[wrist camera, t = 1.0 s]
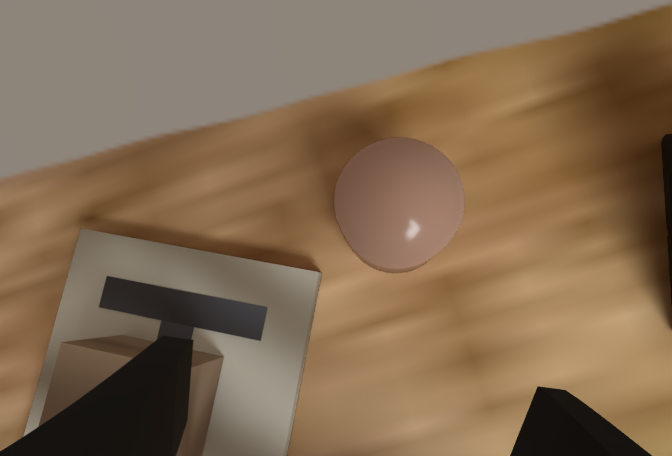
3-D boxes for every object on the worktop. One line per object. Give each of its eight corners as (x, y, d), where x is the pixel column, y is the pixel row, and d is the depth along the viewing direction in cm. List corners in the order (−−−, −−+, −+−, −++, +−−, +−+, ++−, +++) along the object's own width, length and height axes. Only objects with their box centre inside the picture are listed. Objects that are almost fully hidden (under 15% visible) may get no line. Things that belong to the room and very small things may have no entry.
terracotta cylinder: (437, 281, 21) (454, 275, 16) (336, 263, 21) (322, 251, 16) (452, 182, 21) (473, 147, 16) (354, 168, 22) (346, 129, 17)
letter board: (250, 645, 19) (242, 664, 18) (1, 570, 20) (-19, 584, 19) (321, 273, 21) (318, 272, 20) (94, 231, 23) (80, 228, 22)
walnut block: (198, 473, 19) (151, 517, 15) (93, 447, 20) (23, 482, 16) (223, 356, 20) (185, 369, 16) (122, 334, 21) (61, 342, 17)
